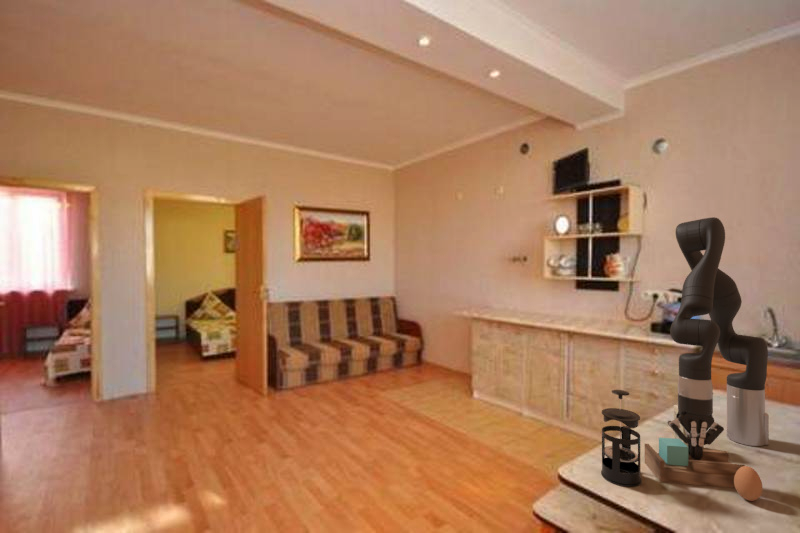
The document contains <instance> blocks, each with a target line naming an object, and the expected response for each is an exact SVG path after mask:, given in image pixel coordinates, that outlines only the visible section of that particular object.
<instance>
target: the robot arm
mask: <svg viewBox="0 0 800 533" xmlns="http://www.w3.org/2000/svg"><path fill="white" fill-rule="evenodd" d="M675 238H676V242H677V244H678V246H679V249H680V251H681V253H682V255H683V257H684V258H685V260H686V262H687V264H688V266H689V268H690V270H691V271H690V272H689V274H687V276H686V277H685V280H684V282H683V284H682V291H681V300H680V305H679V308H678V310H677V313H676V315H675V317H674V319H673V321H672V323H671V326H670V328H669V329H670V330H669V331H670V332H669V333H670V337H671V339H672V341H674V342H675V343H676V344H680V345H685V346H687V345H688V346H695V347H696V346H697V347H702V349H701V350H700V351H697V352H687V353H681V354H680V355H679V356H678V379H677V405H678V414H677V415H676V419H675V420H674V419H673V420H668V421H667V425H668V426H669V427H670V429H672V431H673V433H674V432H675V433H676V434H677V435H678V437H679V438H680V439H681V440H683V441H684V442H685V443H688V454H689V455H690V456H691V458H693V459H694V460H701V458H702V457H703V450H704V446H706V445H707V446H710V445H712V443H714V441H715V440H716V439H718V437H719V436H720V435H721V434H722V433H723V431H724V430H725V429H724V426H722V425H720V424H719V423H718V422H715V418H714V416H713V413H714V410H713V409H714V408H713V407H714V402H713V401H714V391H713V390H714V389H713V382H712V362H713V356H714V353H715V349H716V348H717V347H718V349H719V352H720V354H721V356H722V358H723V359H725V361H727V362H730V363H733V364H739V365H744V366H746V367H745V371H743V372H735V373H730V374H727V376H726V437H727V438H728V439H729V440H731V441H733V442H735V443H738V444H741V445H746V446H751V447H764V446H769V444H770V443H769V442H770V441H769V440H770V438H769V436H770V434H769V432H770V431H769V427H770V426H769V422H770V421H769V414H768V413H767V412H766V382H767V375H768V374H767V372H768V371H767V369H768V361H769V360H768V358H769V357H768V356H769V350H768V349H769V348H768V343H767V342H766V341H765V339H763V337H762V338H761V337H758V336H753V335H752V336H751V335H745V334H738V333H736V331H735V330H734V326H733V323H734V322H733V321H734V319H735V317H736V316H737V314H738V313H739V310H740V309H741V307H742V297H741V293H740V292H739V288H738V286H737V284H736V282H735V280H734V279H733V278H732V277H731V276H729V275H728V273H726V272H724V271H723V270H722V269H720V268H719V266H720V262H721V259H722V254H723V250H724V247H725V242H726V230H725V227H724V224H723V222H722V221H721V219H720V218H718V217H715V216H714V217H706V218H701V219H695V220H690V221H685V222H680V223H678V224H677V226H676V227H675ZM702 251H704V254H703V253H702ZM705 315H708V316H709V318H710V319H704V318H703V319H700V318H694V317H699V316H705ZM717 345H718V346H717ZM680 424H681V425H682V426H683V427H684V429H685V432H686V436H687V437H686V436H685V435H684V434H683V433H682V431H681V430H680V429H679V428H680Z"/></svg>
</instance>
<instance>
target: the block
mask: <svg viewBox="0 0 800 533" xmlns="http://www.w3.org/2000/svg"><path fill="white" fill-rule="evenodd" d="M658 453H659V456H660V457H661V458H662V459H663V460H664V461H665V463H666V464H668V465H682V466H688V446H687V445H685V444H684V443H683V442H682V441H681V440H680V439H674V437H673V438H671V437H658Z"/></svg>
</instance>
